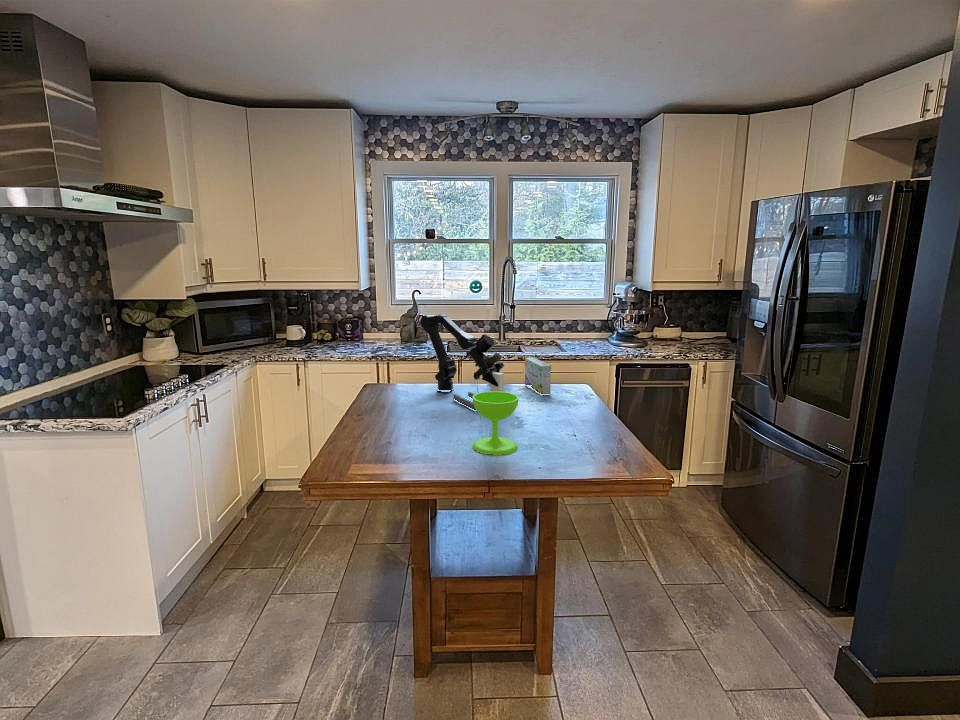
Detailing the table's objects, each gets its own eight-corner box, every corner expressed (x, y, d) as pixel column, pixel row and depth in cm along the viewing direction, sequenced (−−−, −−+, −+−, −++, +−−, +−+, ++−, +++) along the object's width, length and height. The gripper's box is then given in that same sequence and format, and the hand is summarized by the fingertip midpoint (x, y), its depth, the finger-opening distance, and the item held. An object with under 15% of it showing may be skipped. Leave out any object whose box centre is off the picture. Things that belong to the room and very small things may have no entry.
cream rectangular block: (490, 398, 242) (490, 373, 239) (494, 397, 244) (494, 371, 242) (499, 400, 239) (500, 374, 237) (503, 398, 242) (504, 373, 239)
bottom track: (453, 400, 241) (453, 394, 241) (470, 398, 246) (470, 392, 245) (475, 411, 224) (475, 404, 224) (492, 409, 229) (492, 402, 228)
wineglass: (526, 450, 180) (528, 399, 177) (486, 458, 172) (487, 406, 169) (502, 436, 194) (502, 389, 190) (463, 443, 186) (464, 394, 183)
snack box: (523, 386, 270) (524, 357, 267) (533, 385, 271) (534, 357, 268) (540, 396, 250) (541, 365, 247) (551, 395, 251) (552, 365, 249)
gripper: (479, 350, 232) (500, 378, 228) (501, 345, 247) (521, 371, 243) (464, 366, 237) (484, 393, 234) (486, 359, 253) (506, 385, 249)
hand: (499, 385), depth 240 cm, fingers closed on cream rectangular block, 3 cm apart
